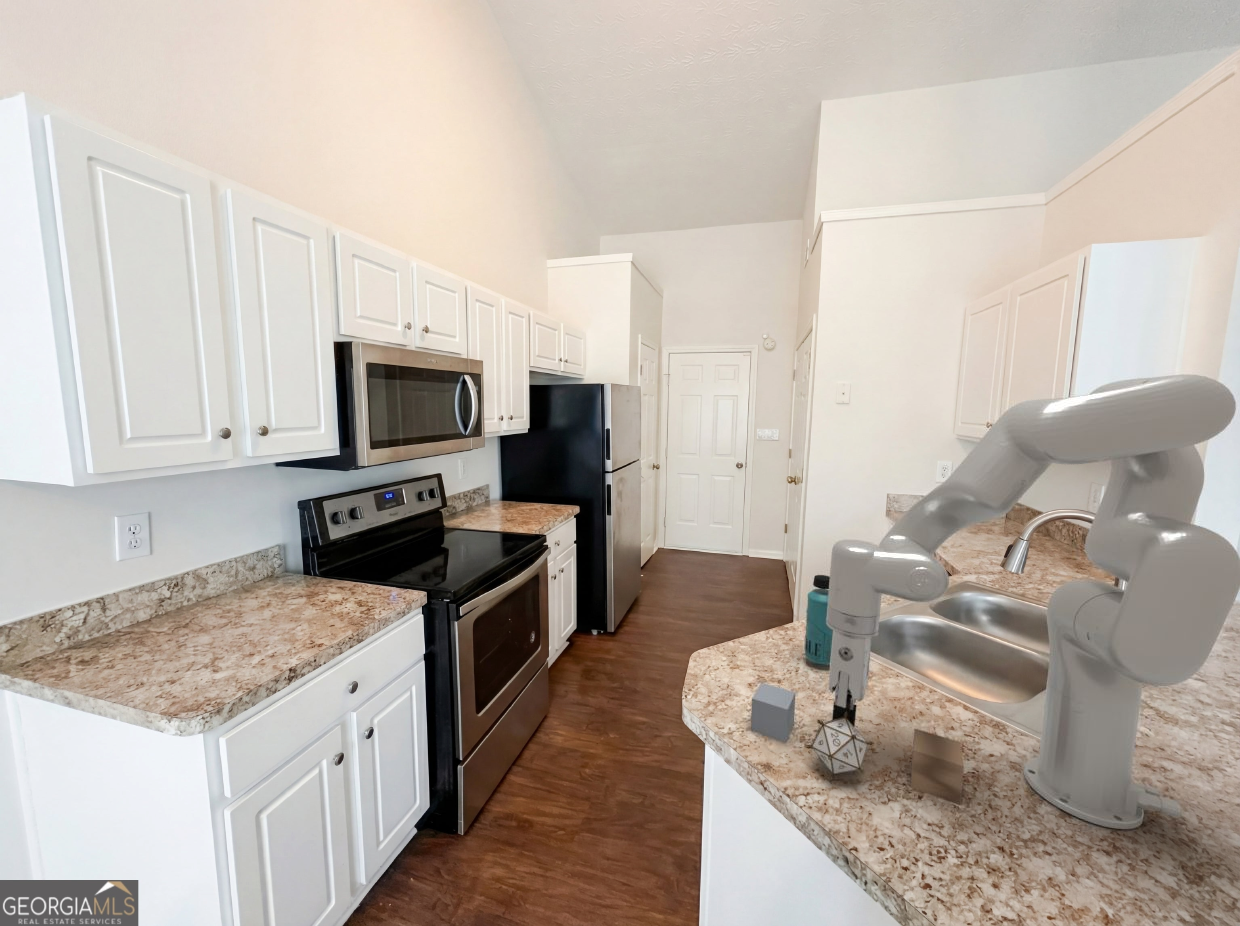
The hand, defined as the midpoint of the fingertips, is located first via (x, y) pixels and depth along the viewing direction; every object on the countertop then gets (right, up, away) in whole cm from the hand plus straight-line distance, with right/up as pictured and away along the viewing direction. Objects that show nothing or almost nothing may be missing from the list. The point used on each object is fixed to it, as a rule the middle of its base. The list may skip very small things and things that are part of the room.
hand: (843, 726), depth 79 cm
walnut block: (+11, -5, -6) cm, 14 cm away
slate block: (-10, -4, +6) cm, 12 cm away
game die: (-3, -5, -4) cm, 6 cm away
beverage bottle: (+8, -2, +29) cm, 30 cm away
